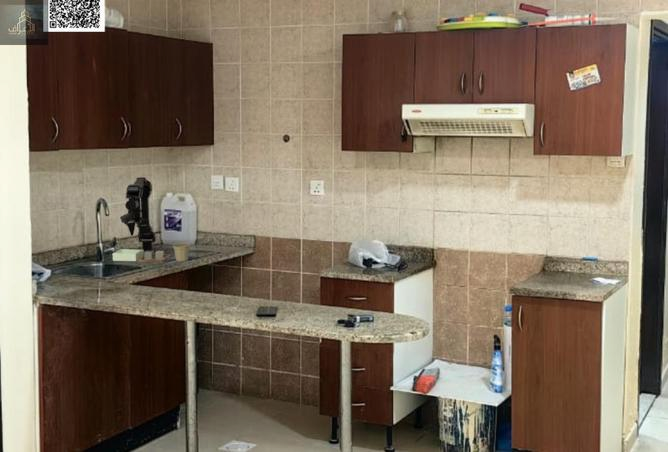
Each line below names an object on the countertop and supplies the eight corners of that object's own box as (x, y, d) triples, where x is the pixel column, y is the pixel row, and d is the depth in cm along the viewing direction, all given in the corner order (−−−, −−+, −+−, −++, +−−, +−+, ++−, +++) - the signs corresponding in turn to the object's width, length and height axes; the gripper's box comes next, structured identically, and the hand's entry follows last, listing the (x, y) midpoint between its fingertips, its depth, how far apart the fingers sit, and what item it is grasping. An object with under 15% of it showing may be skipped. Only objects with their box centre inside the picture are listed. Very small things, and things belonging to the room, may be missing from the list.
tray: (147, 256, 548) (147, 254, 548) (171, 257, 546) (171, 254, 546) (137, 262, 532) (136, 259, 532) (162, 262, 530) (162, 260, 529)
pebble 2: (156, 258, 540) (156, 251, 540) (164, 258, 541) (163, 250, 540) (155, 259, 536) (155, 252, 536) (163, 259, 537) (162, 252, 536)
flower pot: (170, 262, 532) (169, 246, 530) (177, 259, 541) (177, 243, 539) (186, 262, 529) (185, 246, 528) (193, 259, 538) (193, 244, 537)
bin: (121, 257, 547) (121, 249, 547) (143, 257, 546) (143, 249, 545) (112, 261, 535) (112, 253, 534) (135, 262, 533) (135, 253, 532)
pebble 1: (147, 257, 542) (146, 250, 541) (154, 258, 541) (153, 250, 540) (144, 259, 538) (144, 251, 537) (151, 259, 537) (151, 252, 537)
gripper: (113, 208, 534) (114, 236, 537) (131, 211, 521) (132, 240, 523) (131, 205, 542) (132, 233, 544) (149, 209, 528) (150, 237, 531)
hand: (136, 236), depth 535 cm, fingers open, 9 cm apart
